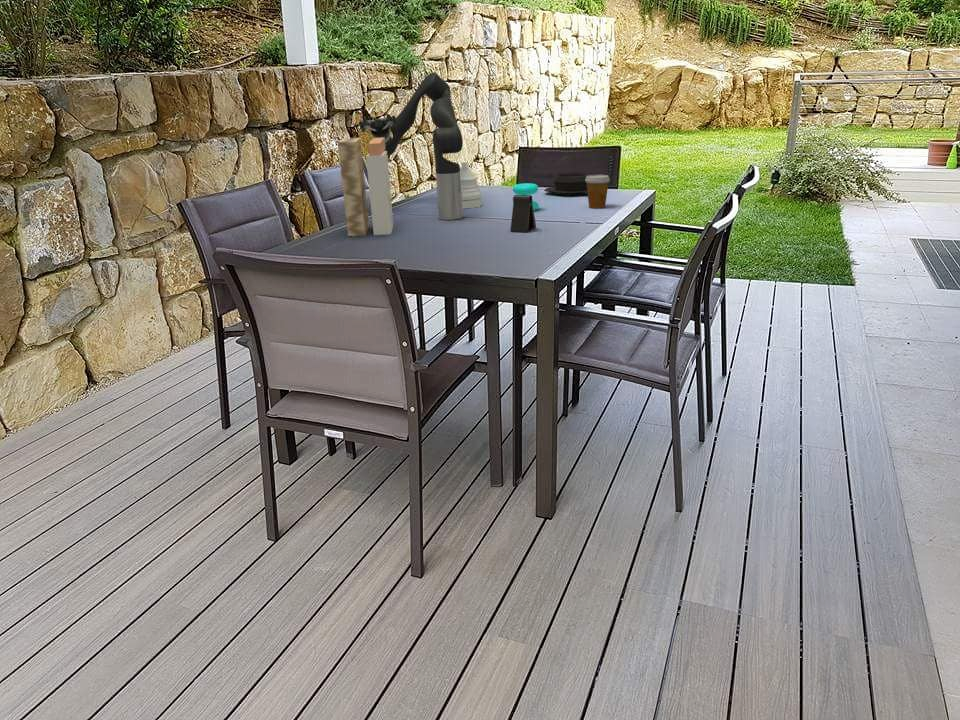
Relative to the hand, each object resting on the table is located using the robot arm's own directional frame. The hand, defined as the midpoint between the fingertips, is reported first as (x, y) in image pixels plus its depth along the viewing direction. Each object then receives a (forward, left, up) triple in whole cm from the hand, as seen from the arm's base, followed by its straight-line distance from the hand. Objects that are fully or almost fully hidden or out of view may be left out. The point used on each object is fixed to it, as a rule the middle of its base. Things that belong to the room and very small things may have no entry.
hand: (376, 117), depth 283 cm
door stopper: (-51, +42, -38) cm, 76 cm away
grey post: (-1, +29, -38) cm, 47 cm away
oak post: (+8, +29, -38) cm, 48 cm away
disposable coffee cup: (-84, +6, -38) cm, 92 cm away
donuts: (-56, +4, -38) cm, 68 cm away
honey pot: (-33, -13, -38) cm, 52 cm away
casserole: (-80, -30, -38) cm, 94 cm away
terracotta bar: (-1, +24, -11) cm, 26 cm away
